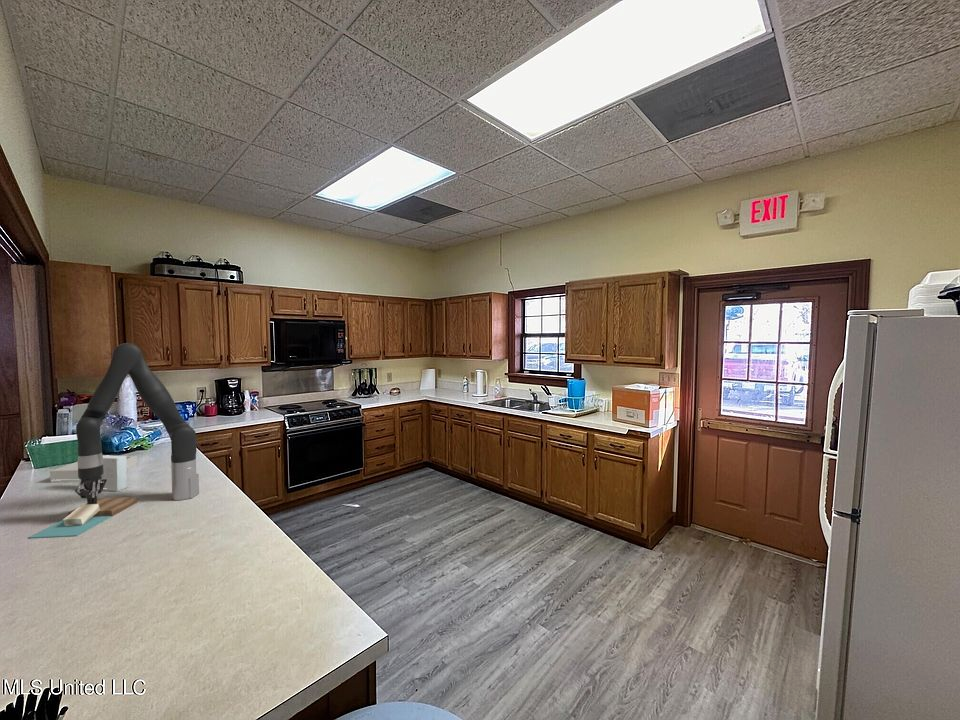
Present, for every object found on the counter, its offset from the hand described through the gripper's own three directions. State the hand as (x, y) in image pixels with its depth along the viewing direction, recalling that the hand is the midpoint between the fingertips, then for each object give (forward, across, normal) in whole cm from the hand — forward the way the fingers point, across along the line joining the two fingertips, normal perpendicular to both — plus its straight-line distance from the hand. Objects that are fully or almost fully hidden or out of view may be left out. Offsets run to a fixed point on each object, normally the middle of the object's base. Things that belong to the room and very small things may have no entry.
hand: (92, 506), depth 164 cm
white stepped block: (+4, +55, +40) cm, 68 cm away
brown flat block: (+4, +6, 0) cm, 7 cm away
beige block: (+2, -5, -1) cm, 6 cm away
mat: (+4, -10, 0) cm, 11 cm away
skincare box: (+4, +32, +20) cm, 38 cm away
